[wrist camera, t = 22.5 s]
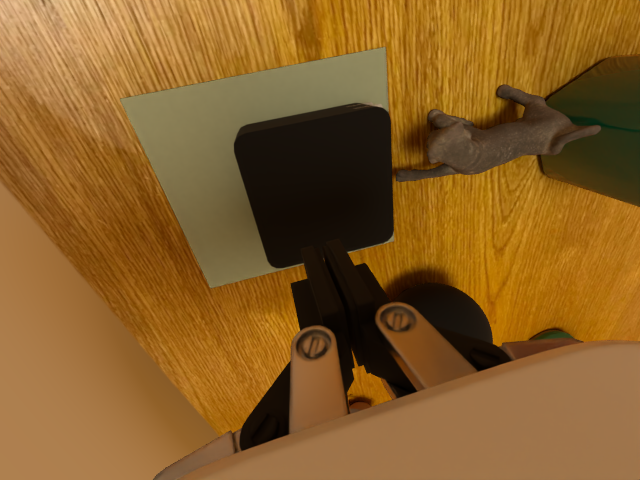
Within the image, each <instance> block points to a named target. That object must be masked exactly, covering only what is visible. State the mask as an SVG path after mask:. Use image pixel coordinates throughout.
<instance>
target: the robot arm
mask: <svg viewBox="0 0 640 480" xmlns="http://www.w3.org/2000/svg"><path fill="white" fill-rule="evenodd" d="M322 249H323V254H324V259H325V261H324V259H323V257H322V254H321V252H320V249H319V248H315V249H314V247H313V246H309V247H305V248H301V254H302V258H303V262H304V266H305V270H306V274H307V278H308V279H305V280H301V281H297V282H294V283H291V288H292V293H293V298H294V303H295V308H296V312H297V317H298V322H299V327H300V331H299V332H298V333H297V334H296V335H295V337H294V339H293V340H292V344H291V360H290V362H289V363H288V364H287V366H286V367H285V368H284V370H283V371H282V372H281V374H280V375H279V377H278V378H277V379H276V381H275V382H274V383H273V385H272V386H271V387H270V389H269V390H268V391H267V393H266V394H265V395H264V397H263V398H262V399H261V401H260V402H259V403H258V405H257V406H256V407H255V409H254V410H253V411H252V413H251V414H250V415H249V417H248V418H247V420H246V421H245V423H244V425H243V426H242V428H241V429H239V430H237V431H236V432H234V433H232V431H231V430H230V431H229V432H227V433H225V434H224V435H222V436H220V437H218V438H217V439H215V440H213V441H212V442H210V443H208V444H206V445H205V446H203V447H201V448H199V449H197V450H196V451H194V452H192V453H191V454H189V455H187V456H185V457H184V458H182V459H180V460H178V461H177V462H175V463H173V464H171V465H170V466H168V467H166V468H165V469H164V470H162V471H161V472H160V473H158V474H157V475H156V476H155V478H154V479H153V480H640V341H622V340H605V341H591V342H583V341H580V340H577V339H573V338H552V339H541V340H529V341H518V342H506V343H502V346H499V347H497V346H496V345H494V344H491V343H489V342H486V341H483V340H480V339H477V338H473V337H470V336H467V335H463V334H460V333H457V332H454V331H450V330H447V329H444V328H440V327H437V326H434V325H431V324H430V323H429V322H428V321H427V320H426V319H425V318H424V317H423V316H422V315H421V314H420V313H419V312H418V311H417V310H416V309H415V308H413V307H412V306H410V305H408V304H406V303H401V302H391V301H390V300H389V298H388V297H387V295H386V294H385V292H384V291H383V289H382V287H381V286H380V284H379V283H378V281H377V280H376V278H375V277H374V275H373V274H372V272H371V270H370V269H369V267H368V266H367V265H366V264H365V263H363V264H359V265H356V266H354V264H353V262H352V260H351V259H350V257H349V255H348V253H347V252H346V250H345V248H344V246H343V245H342V243H341V241H340V240H339V239H336V240H332V241H328V242H326V246H322ZM351 348H352V349H351ZM352 351H353V353H354V356H355V359H356V361H357V364H358V366H362V365H364V367H365V370H366V372H367V374H368V373H371V374H373V375H375V376H377V377H380V378H381V381H382V383H383V385H384V387H385V388H386V390H387V392H388V393H389V395H390V396H391V398H392V400H391V401H388V402H385V403H382V404H379V405H376V406H373V407H370V408H367V409H364V410H361V411H358V412H355V413H352V414H350V407H349V401H348V395H347V392H348V390H349V388H350V386H351V384H352V382H353V380H354V377H353V371H352V369H353V368H355V367H354V361H353V355H352Z"/></svg>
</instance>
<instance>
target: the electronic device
mask: <svg viewBox="0 0 640 480" xmlns="http://www.w3.org/2000/svg"><path fill="white" fill-rule="evenodd" d="M234 154H235V157H236V161H237V164H238V167H239V170H240V174H241V177H242V180H243V183H244V187H245V190H246V193H247V196H248V199H249V203H250V206H251V209H252V212H253V216H254V219H255V222H256V225H257V229H258V232H259V235H260V238H261V241H262V245H263V248H264V251H265V254H266V258H267V261H268V263H269V264H270V265H271V266H272V267H274V268H286V267H290V266H294V265H298V264H302V263H304V262H303V258H302V254H301V248H305V247H309V246H313V247H314V249H315V248H319V249H320V252H321V254H322V257H323V258H324V254H323V249H322V246H326V242H328V241H332V240H336V239H339V240H340V241H341V243H342V245H343V246H344V248H345V250H346V252H350V251H354V250H358V249H362V248H366V247H370V246H374V245H378V244H382V243H385V242H387V241H389V239H390V238H391V237H392V236H393V231H394V222H393V188H392V154H391V120H390V116H389V113H388V112H387V111H386V110H385V109H384V108H383V107H382V105H381V104H375V105H373V103H372V102H368V103H352V104H347V105H342V106H337V107H332V108H327V109H322V110H317V111H312V112H307V113H302V114H297V115H292V116H287V117H282V118H277V119H272V120H267V121H262V122H257V123H252V124H247V125H245V126H243V127H241V128H240V129H239V131H238V133H237V136H236V139H235V142H234Z"/></svg>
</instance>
